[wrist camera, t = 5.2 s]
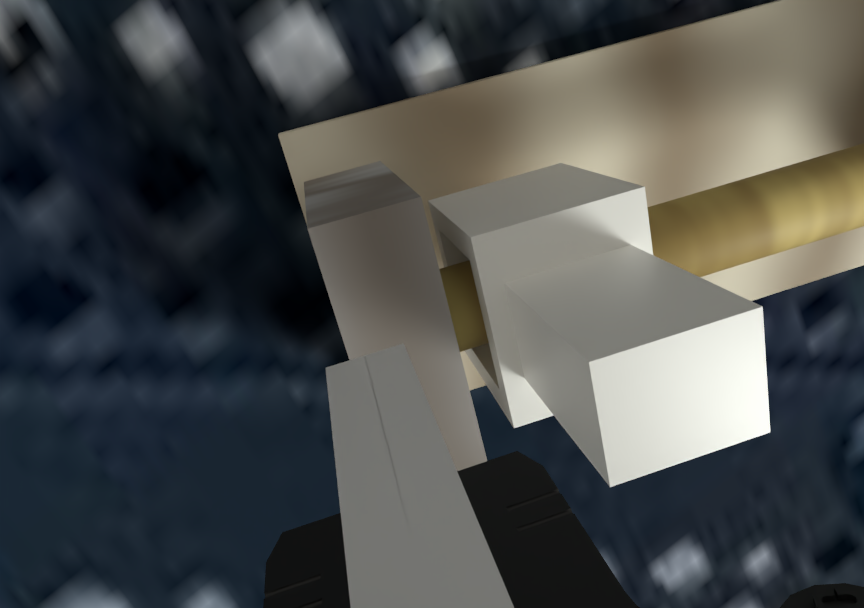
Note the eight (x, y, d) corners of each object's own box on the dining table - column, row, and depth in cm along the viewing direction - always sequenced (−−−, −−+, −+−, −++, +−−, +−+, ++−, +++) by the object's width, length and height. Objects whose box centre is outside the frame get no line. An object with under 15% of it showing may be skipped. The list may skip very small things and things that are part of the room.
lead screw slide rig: (367, 411, 23) (399, 558, 16) (278, 132, 20) (268, 159, 13) (927, 234, 26) (1176, 292, 18) (936, -43, 22) (1248, -106, 15)
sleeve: (465, 351, 20) (593, 551, 11) (427, 200, 18) (545, 301, 10) (586, 313, 20) (798, 479, 12) (560, 162, 19) (787, 226, 10)
